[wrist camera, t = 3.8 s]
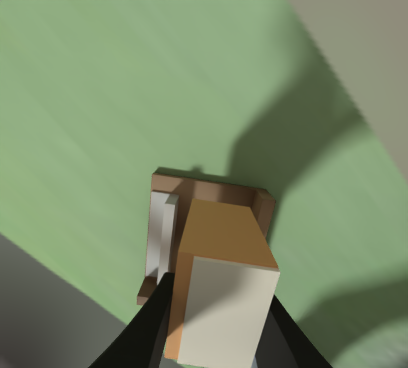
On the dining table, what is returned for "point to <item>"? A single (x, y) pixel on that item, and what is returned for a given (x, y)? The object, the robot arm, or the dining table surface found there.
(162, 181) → the shelf
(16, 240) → the dining table surface
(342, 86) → the dining table surface
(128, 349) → the robot arm
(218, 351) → the tan block
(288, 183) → the dining table surface
